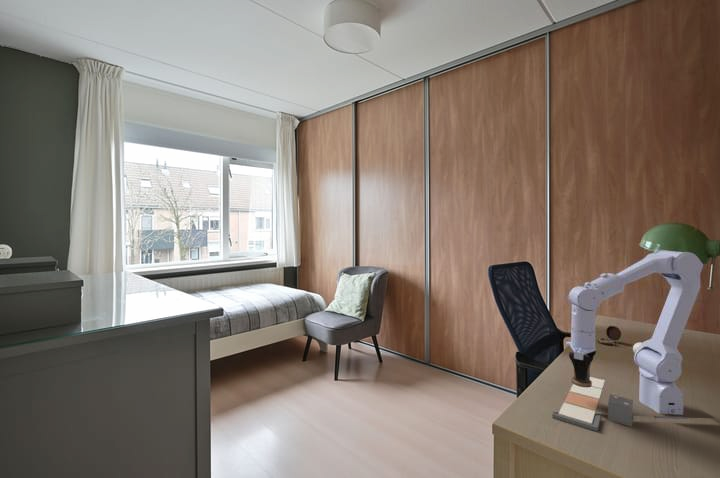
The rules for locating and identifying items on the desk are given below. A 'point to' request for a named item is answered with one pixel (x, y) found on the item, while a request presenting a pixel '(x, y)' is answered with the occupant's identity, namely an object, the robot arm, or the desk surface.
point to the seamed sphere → (637, 346)
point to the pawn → (579, 382)
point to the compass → (611, 336)
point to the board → (580, 414)
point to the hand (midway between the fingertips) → (582, 377)
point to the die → (620, 410)
